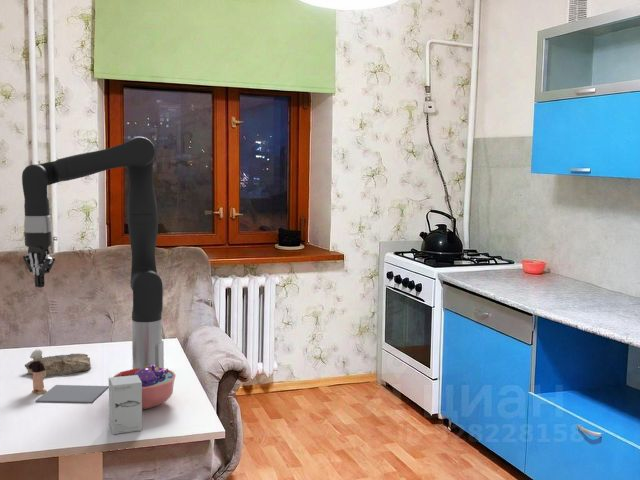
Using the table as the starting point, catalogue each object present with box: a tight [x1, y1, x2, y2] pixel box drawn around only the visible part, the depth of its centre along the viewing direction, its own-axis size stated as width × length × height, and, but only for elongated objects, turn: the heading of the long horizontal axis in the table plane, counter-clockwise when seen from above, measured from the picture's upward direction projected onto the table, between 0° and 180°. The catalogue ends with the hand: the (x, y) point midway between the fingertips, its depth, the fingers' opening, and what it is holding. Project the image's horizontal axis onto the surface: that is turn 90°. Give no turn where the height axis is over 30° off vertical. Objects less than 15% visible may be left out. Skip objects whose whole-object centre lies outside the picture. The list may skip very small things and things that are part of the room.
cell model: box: [113, 365, 176, 410], centre depth 186 cm, size 17×20×11 cm
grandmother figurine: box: [27, 349, 48, 395], centre depth 196 cm, size 8×4×13 cm, turn 71°
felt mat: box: [35, 384, 109, 404], centre depth 195 cm, size 16×14×1 cm
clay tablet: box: [24, 353, 92, 377], centre depth 218 cm, size 14×5×20 cm
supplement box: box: [108, 375, 143, 435], centre depth 169 cm, size 7×7×13 cm
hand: (39, 286), depth 205 cm, fingers closed
